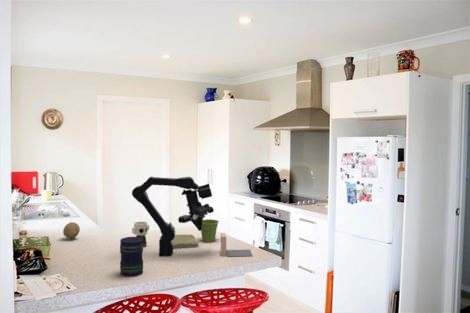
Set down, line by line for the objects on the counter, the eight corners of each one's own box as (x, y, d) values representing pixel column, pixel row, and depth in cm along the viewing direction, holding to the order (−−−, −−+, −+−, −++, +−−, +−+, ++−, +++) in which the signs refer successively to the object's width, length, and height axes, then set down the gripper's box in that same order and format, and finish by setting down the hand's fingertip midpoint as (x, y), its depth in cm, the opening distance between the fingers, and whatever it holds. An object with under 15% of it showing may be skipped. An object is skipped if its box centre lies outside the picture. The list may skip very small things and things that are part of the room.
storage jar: (120, 277, 169) (119, 243, 168) (120, 270, 178) (119, 237, 178) (144, 275, 172) (144, 241, 171) (142, 268, 181) (142, 236, 180)
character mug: (136, 249, 211) (136, 225, 211) (128, 247, 216) (128, 223, 215) (152, 245, 219) (152, 222, 219) (145, 243, 224) (145, 220, 223)
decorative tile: (192, 239, 236) (193, 233, 236) (198, 248, 216) (198, 241, 216) (161, 241, 231) (161, 235, 231) (164, 250, 211) (164, 244, 211)
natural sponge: (79, 240, 228) (79, 223, 228) (62, 242, 225) (62, 224, 224) (79, 237, 237) (79, 220, 236) (63, 238, 233) (63, 221, 233)
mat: (227, 256, 200) (227, 256, 200) (225, 250, 210) (225, 249, 210) (252, 256, 201) (252, 255, 201) (250, 250, 212) (250, 249, 212)
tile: (221, 256, 201) (221, 236, 200) (220, 251, 209) (220, 232, 208) (226, 256, 201) (226, 236, 200) (225, 251, 209) (225, 232, 208)
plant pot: (194, 240, 231) (194, 221, 231) (210, 237, 239) (210, 218, 238) (206, 244, 222) (206, 224, 222) (222, 241, 230) (223, 221, 230)
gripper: (186, 206, 190) (193, 238, 191) (216, 195, 202) (223, 225, 203) (174, 206, 199) (181, 236, 200) (204, 196, 211) (211, 224, 212)
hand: (200, 230), depth 203 cm, fingers closed
